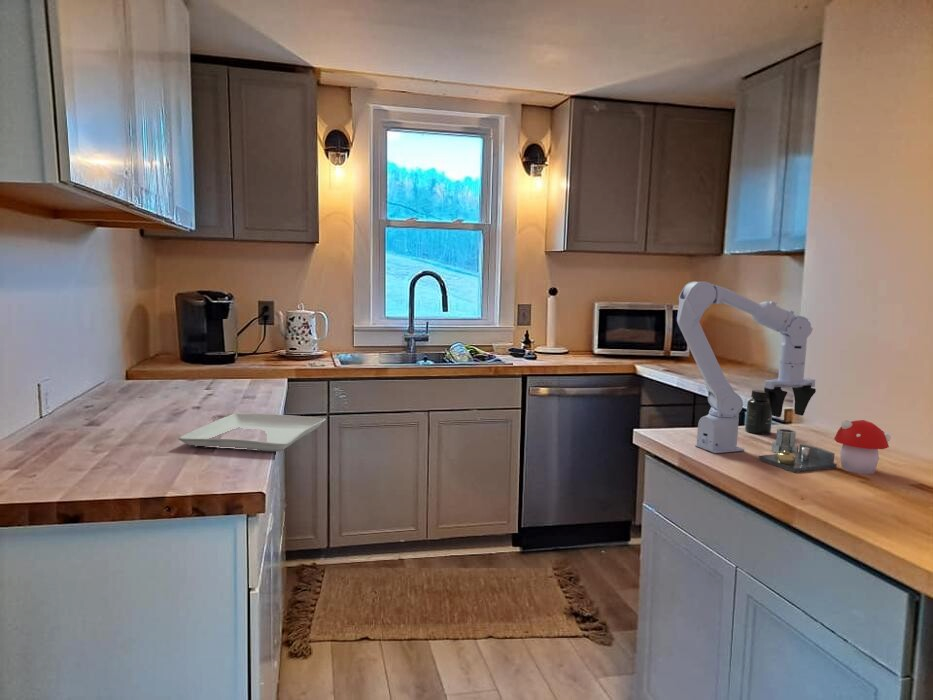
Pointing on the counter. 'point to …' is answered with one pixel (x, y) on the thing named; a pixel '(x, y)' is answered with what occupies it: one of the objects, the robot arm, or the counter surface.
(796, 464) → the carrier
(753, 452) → the counter surface
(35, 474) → the counter surface
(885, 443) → the mushroom
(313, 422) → the square plate
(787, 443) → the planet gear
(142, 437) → the counter surface
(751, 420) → the supplement bottle
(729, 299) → the robot arm
